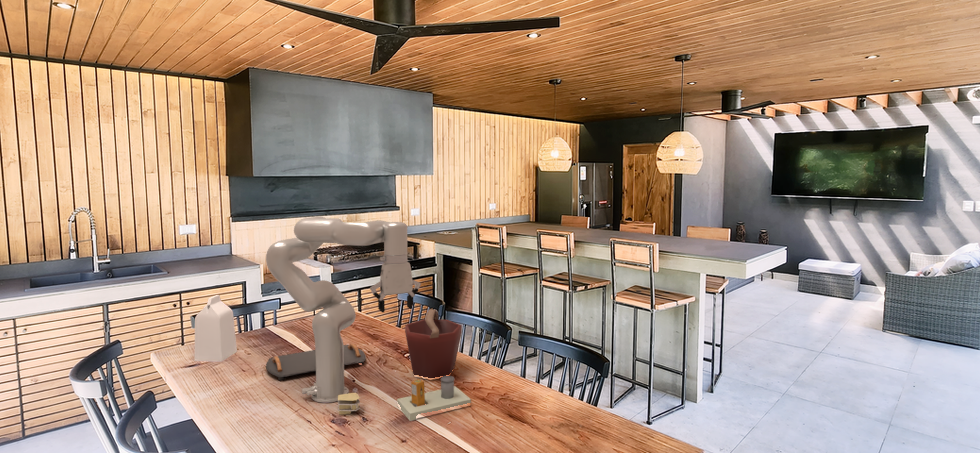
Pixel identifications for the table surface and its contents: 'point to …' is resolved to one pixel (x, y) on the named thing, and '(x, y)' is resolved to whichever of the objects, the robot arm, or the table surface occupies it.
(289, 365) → the serving board
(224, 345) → the milk
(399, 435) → the table surface
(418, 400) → the supplement box
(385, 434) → the table surface
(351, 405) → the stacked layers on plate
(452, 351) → the bucket
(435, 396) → the caddy
